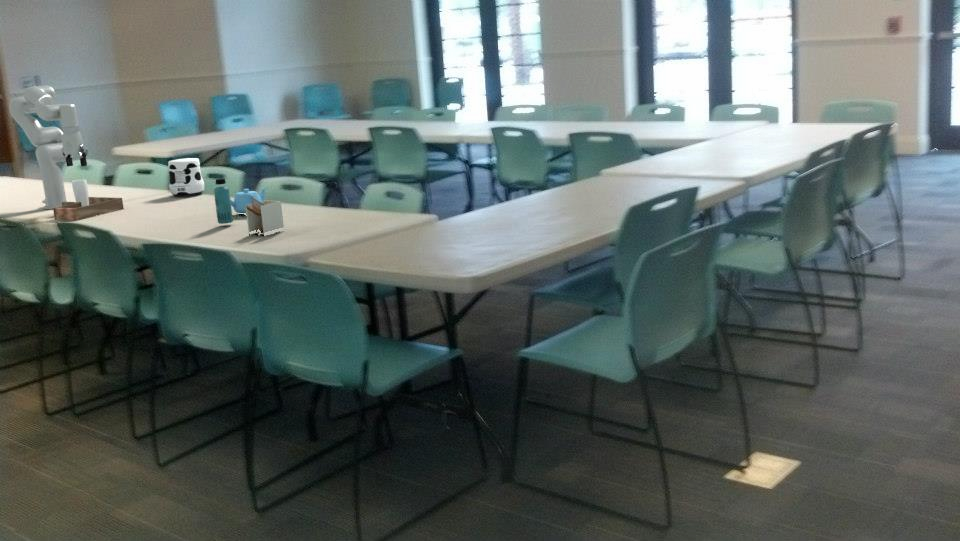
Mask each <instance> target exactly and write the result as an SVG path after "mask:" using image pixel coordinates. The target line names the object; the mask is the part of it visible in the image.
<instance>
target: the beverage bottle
mask: <svg viewBox="0 0 960 541" xmlns="http://www.w3.org/2000/svg"><path fill="white" fill-rule="evenodd" d="M226 183H227V182H226V179H225V178H217V179H215V186H216V187H215V188H214V189H213V192H214V193H213V194H214V203H215V209H216V217H217V218H216V219H217V223H218V224H221V225H222V224H231V223H233V220H234V218H233V217H234V216H233V211H232V210H233V208H232V206H231V202H230V199H231V197H230V188H229V187H228V186H226V185H225V184H226ZM219 185H221V186H219ZM222 185H224V186H222Z"/></svg>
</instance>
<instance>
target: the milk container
mask: <svg viewBox="0 0 960 541" xmlns="http://www.w3.org/2000/svg"><path fill="white" fill-rule="evenodd" d="M167 166H168V174H169V185H168V187H169V191H170V194H171V195H173V196H174V197H187V196H188V197H189V196H196V195H199V194H202V193H203V192H204V191H205V182H204V179H203V177H202V172H201V163H200V159H199V158H197V157H195V158H194V157H192V158H191V157H186V158H178V159H177V158H176V159H172V160H169V161H168V163H167Z"/></svg>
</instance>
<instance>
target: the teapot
mask: <svg viewBox="0 0 960 541" xmlns="http://www.w3.org/2000/svg"><path fill="white" fill-rule="evenodd" d="M267 188H268V187H267V186H266V187H263V188H262V189H261V192H260V195H259V193H258V191H256V190H250V189H249V188H243V189H242V190H243V191H239V192H236V193H235V196H234V199H233V200H232V199H231V198H230V202H231V207H232V209H233V210H234V212H236V213H238V214H239V213H246V207H245V205H249V204H252V198H251V196H252V197H253V198H254V199H256V200H257V201H259V202H261V201H265V199H266V196H265V194H266V193H265V192H266V190H267Z"/></svg>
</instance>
